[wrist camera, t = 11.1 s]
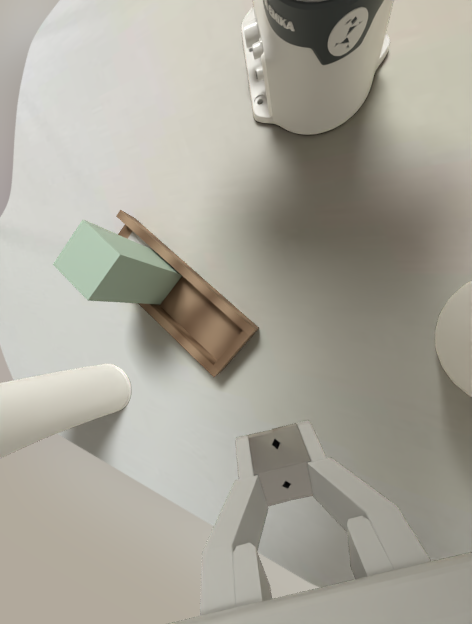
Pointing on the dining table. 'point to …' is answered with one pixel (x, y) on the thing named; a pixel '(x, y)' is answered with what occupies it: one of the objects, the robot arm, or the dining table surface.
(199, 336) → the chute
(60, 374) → the spray can
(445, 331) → the cylinder
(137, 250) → the block
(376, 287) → the dining table surface
